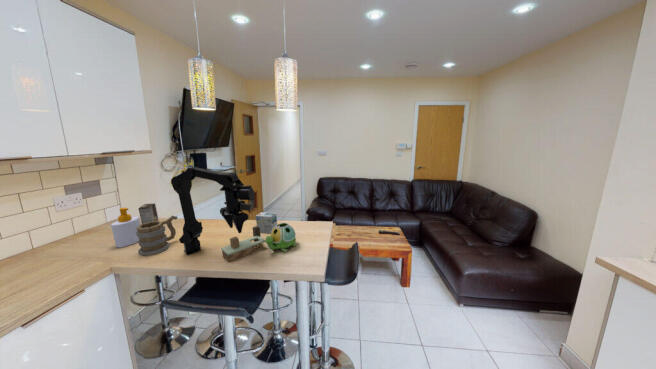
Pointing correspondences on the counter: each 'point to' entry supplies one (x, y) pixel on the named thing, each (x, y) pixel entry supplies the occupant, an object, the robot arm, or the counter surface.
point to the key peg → (256, 232)
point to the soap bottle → (125, 229)
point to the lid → (241, 244)
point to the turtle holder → (281, 237)
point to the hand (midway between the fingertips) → (235, 230)
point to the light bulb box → (266, 221)
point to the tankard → (154, 236)
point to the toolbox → (242, 253)
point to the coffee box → (148, 213)
